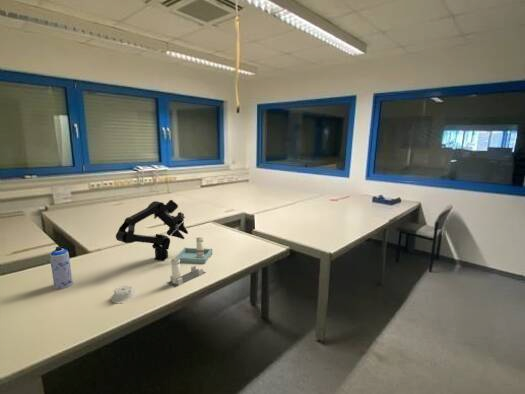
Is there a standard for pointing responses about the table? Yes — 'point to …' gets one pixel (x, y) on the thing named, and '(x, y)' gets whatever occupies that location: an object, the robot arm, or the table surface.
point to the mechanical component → (122, 294)
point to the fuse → (175, 270)
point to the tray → (193, 255)
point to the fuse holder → (187, 276)
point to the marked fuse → (200, 247)
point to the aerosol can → (61, 268)
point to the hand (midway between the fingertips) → (185, 235)
